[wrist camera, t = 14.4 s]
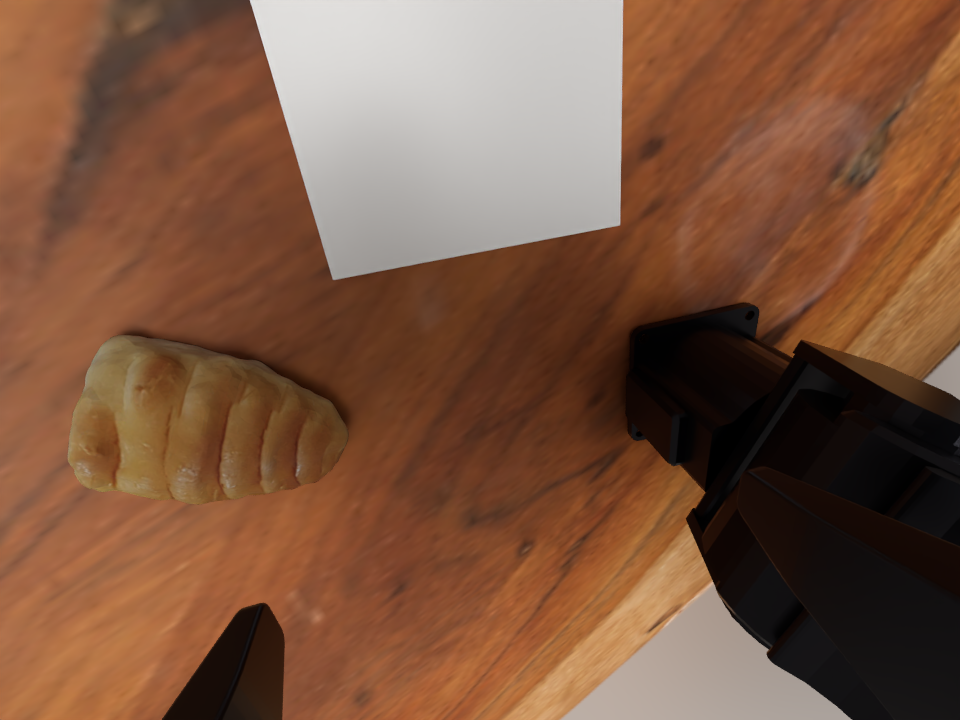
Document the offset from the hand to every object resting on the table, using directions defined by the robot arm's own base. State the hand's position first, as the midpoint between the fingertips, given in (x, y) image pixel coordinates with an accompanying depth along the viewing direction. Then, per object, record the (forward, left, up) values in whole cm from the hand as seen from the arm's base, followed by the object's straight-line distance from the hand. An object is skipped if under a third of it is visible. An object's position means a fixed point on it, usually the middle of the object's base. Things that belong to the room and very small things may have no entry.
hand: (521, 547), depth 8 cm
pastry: (+10, +2, -13) cm, 16 cm away
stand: (-2, -8, -12) cm, 15 cm away
